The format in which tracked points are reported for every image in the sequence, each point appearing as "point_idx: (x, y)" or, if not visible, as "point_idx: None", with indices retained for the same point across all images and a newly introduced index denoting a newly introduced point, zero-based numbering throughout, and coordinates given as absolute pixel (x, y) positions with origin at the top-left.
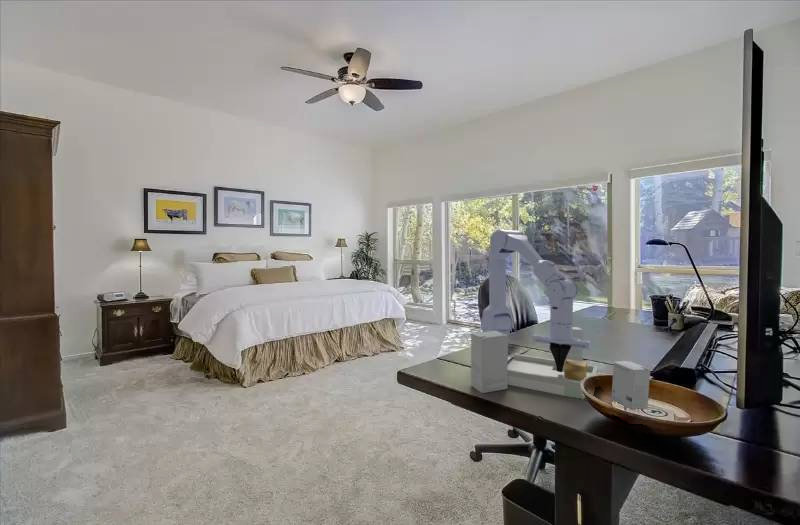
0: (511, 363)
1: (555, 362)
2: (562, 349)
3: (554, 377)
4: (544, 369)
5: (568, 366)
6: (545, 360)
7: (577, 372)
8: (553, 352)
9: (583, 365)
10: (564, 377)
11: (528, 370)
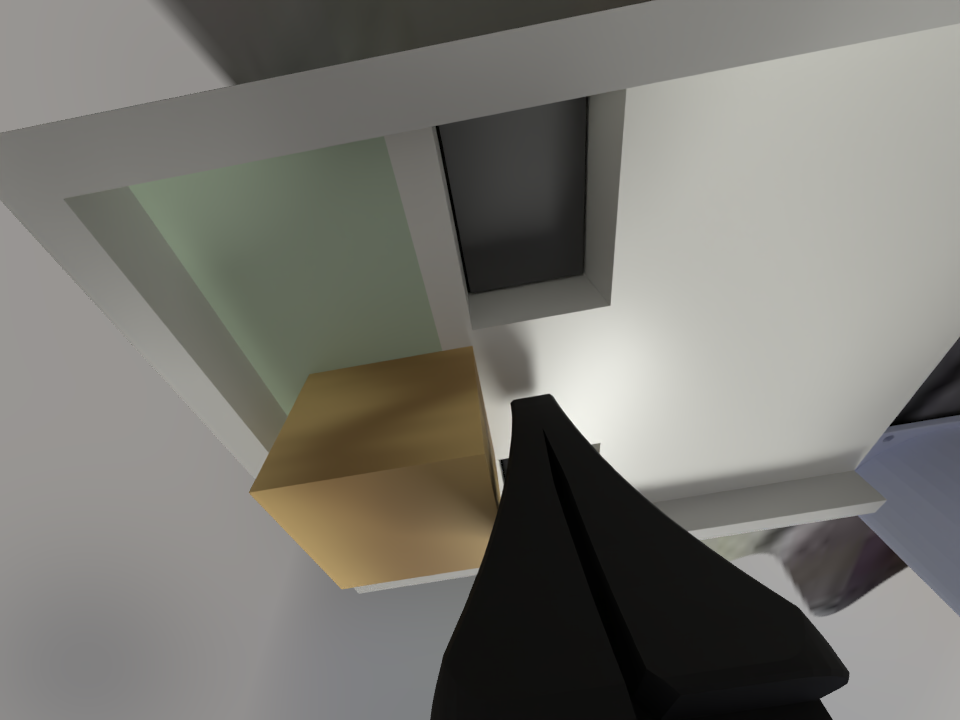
0: (905, 389)
1: (594, 450)
2: (560, 702)
3: (515, 88)
4: (649, 422)
5: (438, 437)
6: None
7: (350, 413)
8: (694, 566)
9: (288, 511)
10: (470, 348)
11: (785, 323)
